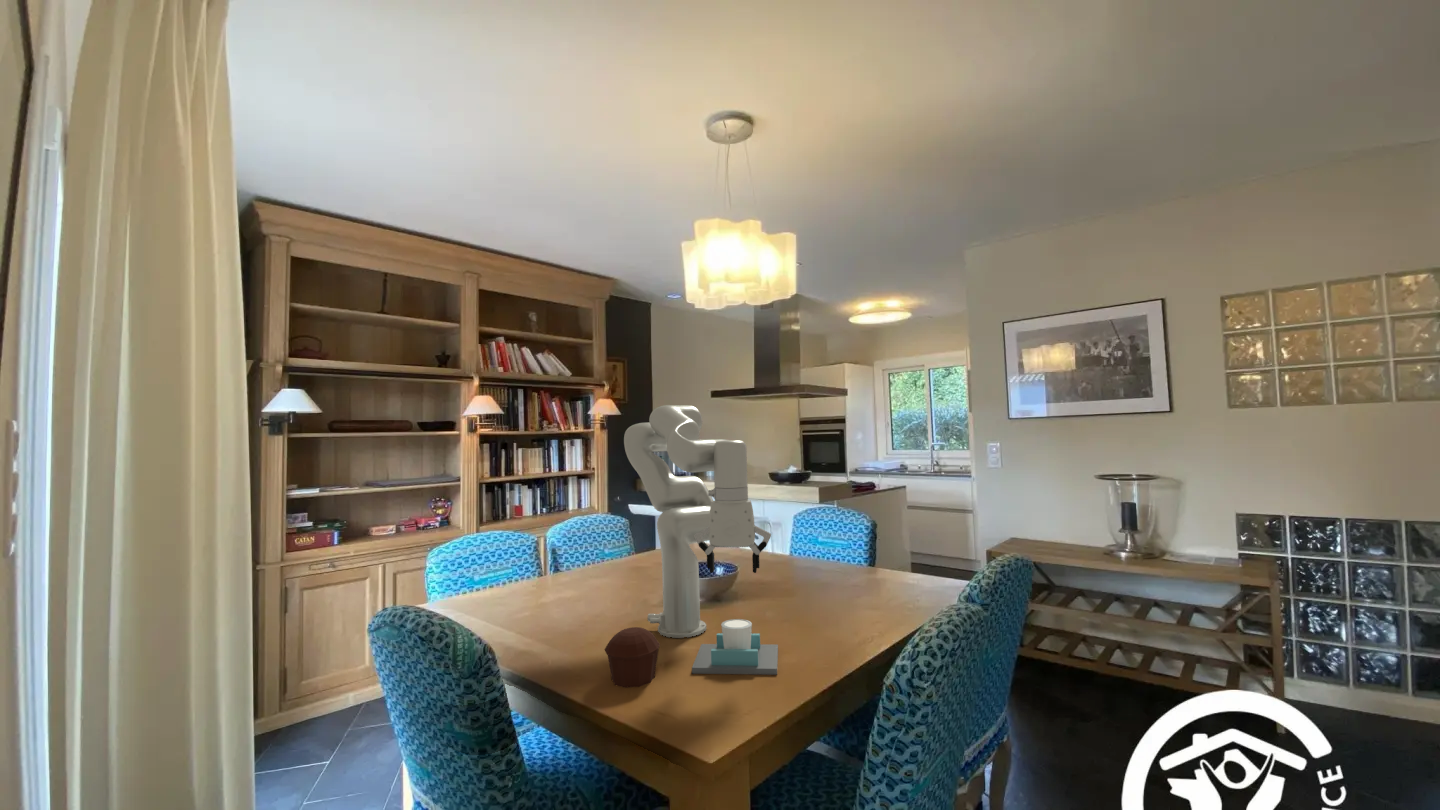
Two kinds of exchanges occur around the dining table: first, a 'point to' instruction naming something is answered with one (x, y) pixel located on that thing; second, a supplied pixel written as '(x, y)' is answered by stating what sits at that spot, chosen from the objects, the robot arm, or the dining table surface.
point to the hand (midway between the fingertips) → (733, 571)
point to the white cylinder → (737, 634)
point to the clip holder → (736, 658)
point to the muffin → (632, 657)
